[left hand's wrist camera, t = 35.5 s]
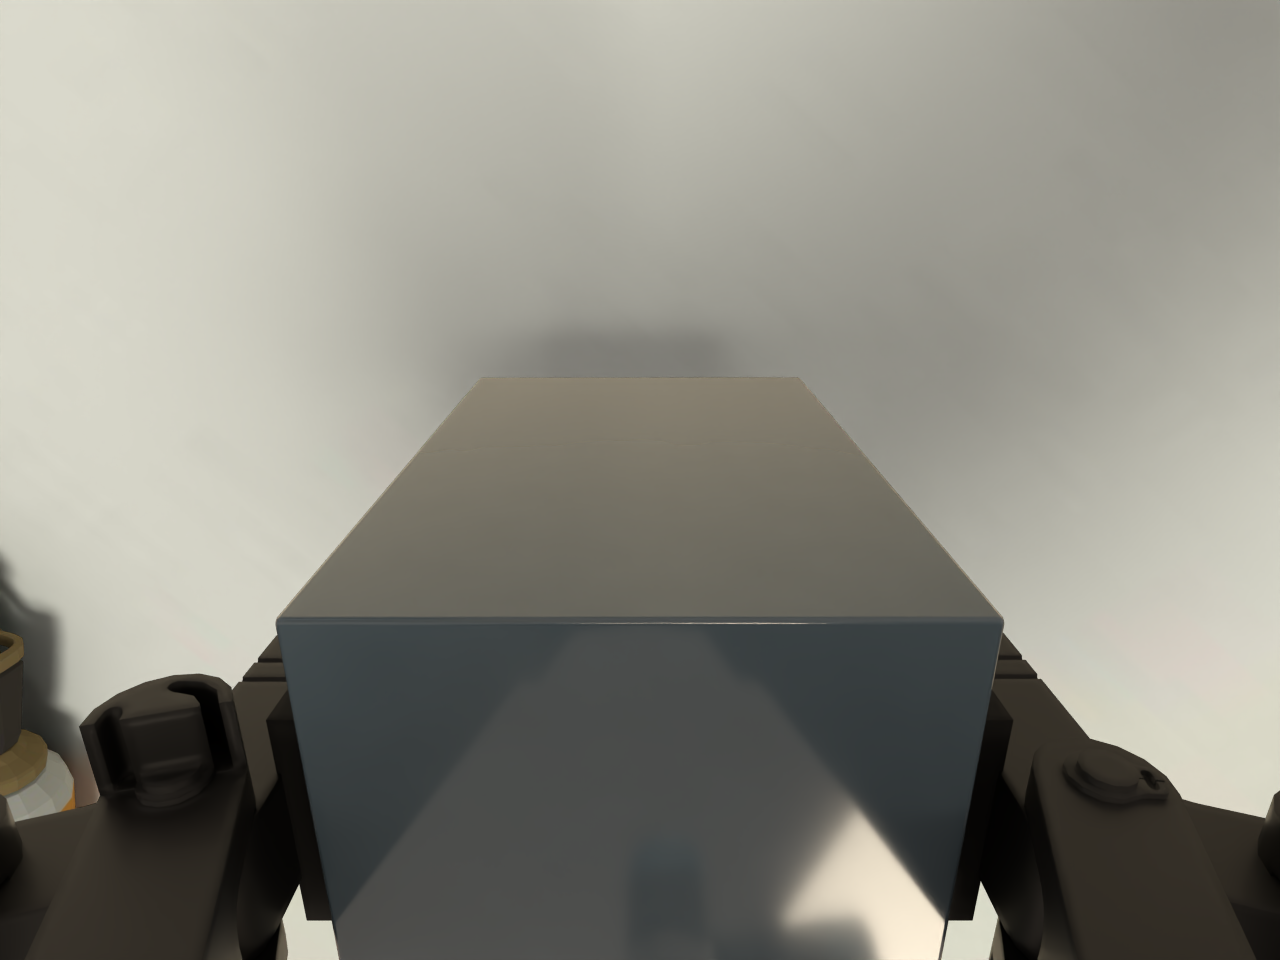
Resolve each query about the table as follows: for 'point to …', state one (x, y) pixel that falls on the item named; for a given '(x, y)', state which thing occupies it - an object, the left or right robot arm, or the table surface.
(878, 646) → the block
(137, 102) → the table surface
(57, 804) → the spray gun
